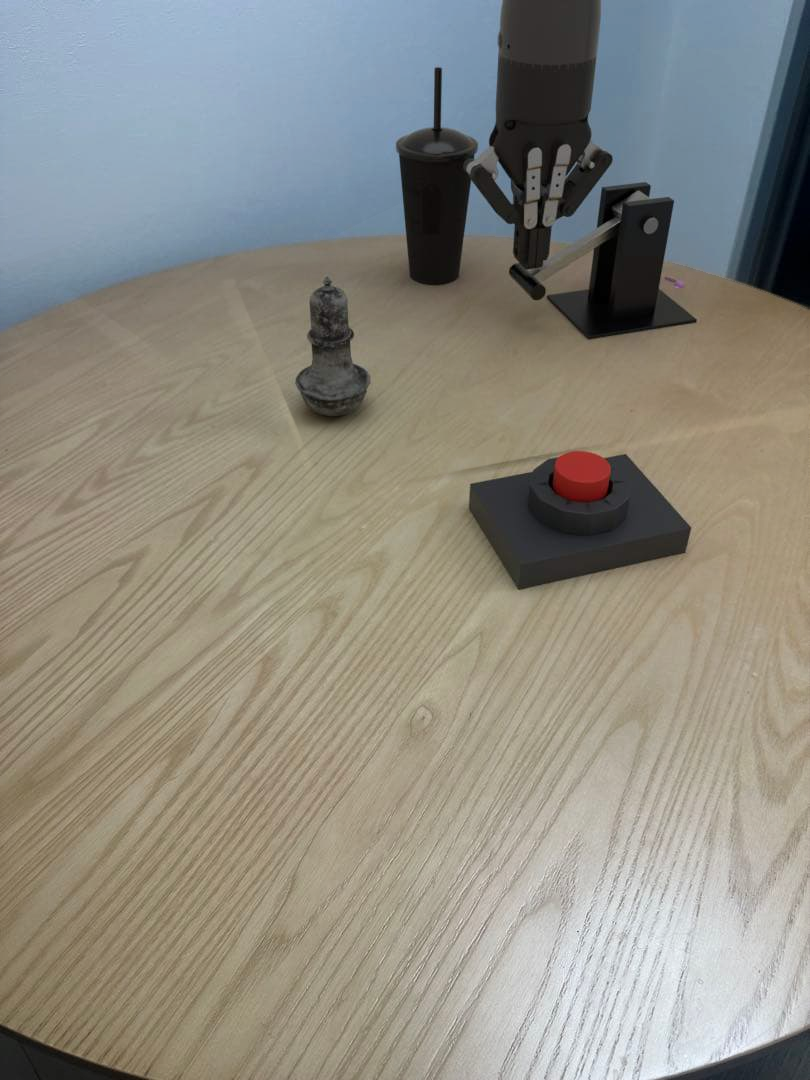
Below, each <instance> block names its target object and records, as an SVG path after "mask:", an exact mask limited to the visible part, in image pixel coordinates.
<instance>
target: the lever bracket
mask: <svg viewBox="0 0 810 1080" xmlns="http://www.w3.org/2000/svg"><path fill="white" fill-rule="evenodd" d="M651 188H652V185H651V184H649V183H648V182H646V181H643V182H634V183H626V184H617V185H607V186H602V187H601V190H600V199H599V207H598V214H597V222H596V229H597V228H598V227H600V226H601V225H603V224H605V223H606V222H608V221H609V220H611V219H613V218H614V217H615V216H614V213H613V211H612V207H613V206H614V205H616V204H617V203H619V202H621V201H622V200H624V199H625V198H627V197H628V196H630V195H632V194H633V193H635V192H636V191H638V190H639V191H640V192H642V193H643V194H645V195H646V196H648V197H649V198H650V196H651ZM674 204H675V200H674V199H672V198H671V197H670V196H665V197H664V196H663V197H657V198H651V199H647V200H639V201H631V202H624V203H623V208H622V215H621V222H620V229H619V233H618V234H617V235H615V236H614V237H612V238H610V239H609V240H607V241H606V242H604V243H602V244H601V245H599V246H598V247H596V248H594V249H593V252H592V253H593V254H592V262H591V270H590V277H589V285H588V289H587V288H586V289H583V290H575V291H567V292H560V293H554V294H547V295H546V299H547V301H549V303H551V305H552V306H554V307H555V309H557V310H558V311H559V312H560V313H561V314H562V315H563V316H564V317H565V318H566V320H568V321H569V322H570V323H571V324H572V326H574V327H575V329H577V330H578V331H579V332H580V333H581V335H583V336H584V337H585V338H586V339H587V340H588V341H589V340H595V339H600V338H608V337H615V336H620V335H627V334H633V333H639V332H644V331H645V332H646V331H652V330H658V329H663V328H664V329H665V328H669V327H671V328H672V327H676V326H683V325H690V324H696V323H697V322H698V319H697V318H696V317H695V316H693V314H691V313H690V312H688V311H687V309H685V308H684V307H683V306H681V305H680V304H679V303H678V302H676V301H675V300H674V299H672V298H671V297H670V296H669V295H668V294H666V293H665V292H663V291H662V290H661V289H660V284H661V278H662V274H663V273H662V272H663V267H664V261H665V255H666V249H667V243H668V239H669V232H670V227H671V223H672V222H671V221H672V215H673V210H674Z"/></svg>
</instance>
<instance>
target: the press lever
mask: <svg viewBox="0 0 810 1080" xmlns="http://www.w3.org/2000/svg"><path fill="white" fill-rule="evenodd" d="M647 199H652V198H651V197H650V196H649V197H648V196H646V195H645V194H643V193H642V192H640V191H639V190H638V191H636V192H635V193H633V194H632V195H630V196H628V197H627V198H625V199H624V200H622V201H621V202H619V203H617V204H616V205H614V206H613V207H612V211H613V213H614V216H615V217H614V218H613V219H611V220H609V221H608V222H606V223H605V224H603V225H601V226H600V227H598V228H597V227H596V228H595V229H593V230H591V231H590V232H589V233H587V234H585V235H584V236H582V237H581V238H579V239H577V240H576V241H574V242H573V243H571V244H569V245H568V246H566V247H565V248H563V249H562V250H559V251H558V252H557V253H555V254H553V255H552V256H551V257H548V258H547V260H544V261H543V266H542V267H541V268H534V269H527V270H526V269H524V268H523V267H522V266H521V265H520V263H519V262H516V263H513V264H512V265H511V266H509V270H508V275H509V277H510V278H511V279H512V280H513V281H514V282H515V283H516V284H517V285H518V286H519V287H520V288H521V289H522V290H523V291H524V292H525V293H526V294H527V295H528V296H529V298H531V299H532V300H533V301H537V302H538V301H540V300H542V299H544V297H545V295H546V292H547V289H546V287H545V285H543V284H542V282H543V281H545V280H546V279H548V278H550V277H551V276H553V275H555V274H556V273H558V272H559V271H561V270H563V269H564V268H566V267H567V266H569V265H571V264H572V263H574V262H576V261H577V260H578V259H580V258H582V257H583V256H585V255H587V254H588V253H589V252H592V251H594V248H596V247H598V246H599V245H601V244H602V243H604V242H606V241H607V240H609V239H610V238H612V237H614V236H615V235H617V234H618V233H619V229H620V222H621V215H622V208H623V203H624V202H631V201H639V200H647Z"/></svg>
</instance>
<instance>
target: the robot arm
mask: <svg viewBox="0 0 810 1080" xmlns="http://www.w3.org/2000/svg"><path fill="white" fill-rule="evenodd" d="M601 18H602V0H502V2H501V8H500V16H499V31H498V34H497V47H498V53H497V73H496V90H495V122H494V123H495V124H494V126H493V129H492V131H491V133H490V134H489V138H488V147H487V148H486V149H485V150H484V151H483V152H482V153H481V154H479V156H477V157H476V158H474V159H473V158H469V159H467V160H466V161H465V162H464V164H463V169H464V171H465V172H466V174H467V175H468V176H469V178H470V179H471V183H473V184H474V186H475V187H476V188H477V190H478V191H479V192H480V194H481V195H482V196H483V198H484V199H485V201H486V202H487V203H488V205H489V206H490V207H491V209H492V210H493V211H494V213H495V214H496V215H498V217H500V218H501V219H502V220H503V221H504V222H505V223H506V224H508V225H513V224H514V229H513V230H514V231H513V246H512V247H513V248H512V254H513V257H514V259H515V260H516V261H517V263H520V265H521V266H522V267H523V268H524V269H526V270H531V269H534V268H541V267H542V266H543V262H544V261H546V260H547V259H549V256H550V250H551V249H550V248H551V238H552V228H553V225H554V224H555V222H556V221H557V220H559V219H561V218H562V217H565V218H570V217H572V216H573V215H574V214H575V213H576V211H577V210H578V209H579V207H580V206H581V205H582V203H583V202H584V201H585V200H586V198H587V197H588V196H589V194H590V193H591V192H592V191H593V189H594V188H595V186H596V185H598V183H599V181H600V180H601V178H602V177H603V176H604V174H605V173H606V172H607V170H608V169H609V168H610V167H611V165H612V164H613V160H614V158H613V155H612V154H611V153H609V152H608V151H607V150H606V149H604V148H603V147H600V146H599V145H597V144H596V143H595V142H594V141H593V140H592V137H593V136H592V128H591V126H590V123H589V114H590V112H591V109H592V102H593V92H594V86H595V85H594V84H595V75H596V65H597V56H598V48H599V39H600V30H601ZM497 163H499V165H500V166H501V168H502V169H503V171H504V172H505V174H506V175H507V177H508V179H509V180H510V190H511V193H512V203H511V201H510V200H509V198H507V196H506V194H505V193H504V191H503V190H502V189H501V187H500V186H499V185H498V183H497V182H496V180H497V179H498V177H499V169H498V167H497Z"/></svg>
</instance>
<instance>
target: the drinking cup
mask: <svg viewBox="0 0 810 1080" xmlns="http://www.w3.org/2000/svg"><path fill="white" fill-rule="evenodd" d="M433 71H434V73H433V78H434V79H433V126H431V127H430V126H429V127H424V128H420V129H417V130H415V131H413V132H411V133H409V134H407V135H404V136H401V137H400V138H398V139H397V141H396V142H395V151H396V153H397V154H398V158H399V159H398V160H399V169H400V182H401V194H402V205H403V215H404V224H405V225H404V227H405V237H406V249H407V261H408V270H409V278H410V279H411V280H412V281H414V282H416V283H418V284H422V285H427V286H443V285H448V284H451V283H453V282H455V281H457V280H458V279H459V277H460V268H461V263H462V253H463V247H464V239H465V232H466V223H467V215H468V207H469V201H470V194H471V193H470V192H471V184H472V180H471V179H470V178H469V176H468V175H467V174H466V172H465V171H464V169H463V164H464V162H465V161H466V160H467V159H469V158H473V159H475V154H477V153H478V151H479V142H478V141H477V139H475V138H473V137H472V136H469V135H467V134H464V133H463V132H461V131H459V130H456V129H454V128H450V127H445V126H442V95H443V92H442V91H443V68H442V67H437V66H436V67H434V70H433Z"/></svg>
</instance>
